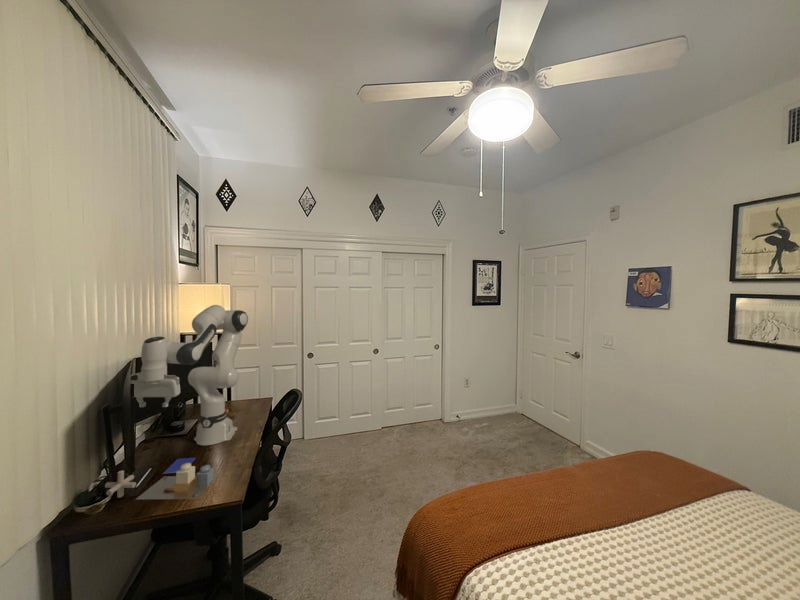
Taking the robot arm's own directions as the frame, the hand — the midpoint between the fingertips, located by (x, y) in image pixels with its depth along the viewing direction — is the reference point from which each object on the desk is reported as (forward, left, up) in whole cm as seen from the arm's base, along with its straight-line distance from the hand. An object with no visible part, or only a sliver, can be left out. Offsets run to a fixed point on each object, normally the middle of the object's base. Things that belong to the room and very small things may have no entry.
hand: (153, 406), depth 134 cm
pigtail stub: (+14, +20, -28) cm, 37 cm away
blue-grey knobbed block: (+8, +27, -28) cm, 39 cm away
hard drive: (-5, +8, -30) cm, 31 cm away
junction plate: (+11, +19, -29) cm, 36 cm away
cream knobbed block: (+14, +23, -24) cm, 36 cm away
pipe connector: (+17, +1, -29) cm, 33 cm away
